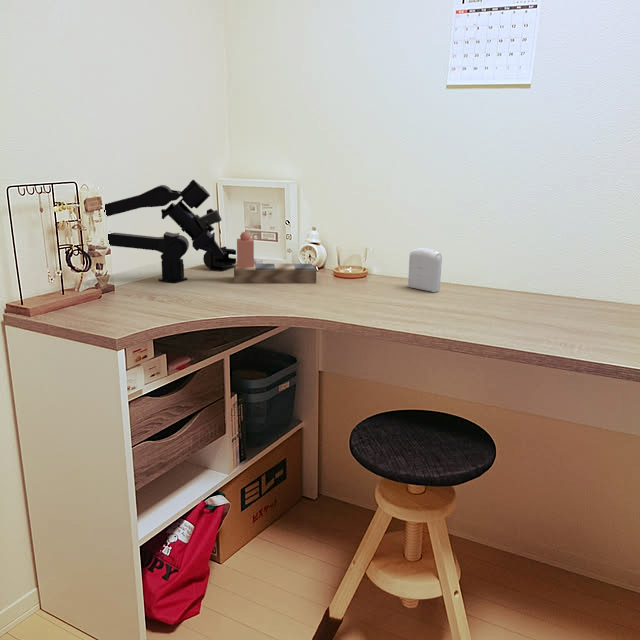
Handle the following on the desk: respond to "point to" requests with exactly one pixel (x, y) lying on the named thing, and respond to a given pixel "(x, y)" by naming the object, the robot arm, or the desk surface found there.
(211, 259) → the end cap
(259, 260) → the die
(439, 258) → the photo printer
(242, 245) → the pawn
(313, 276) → the track
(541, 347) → the desk surface
